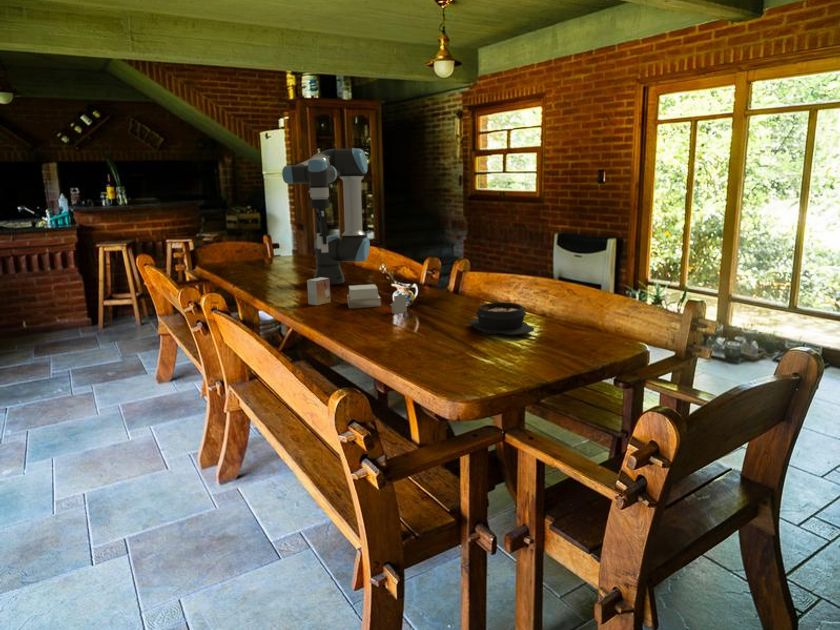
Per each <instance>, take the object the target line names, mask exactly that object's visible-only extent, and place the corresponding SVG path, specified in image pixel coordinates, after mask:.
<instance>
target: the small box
mask: <svg viewBox="0 0 840 630" xmlns="http://www.w3.org/2000/svg"><path fill="white" fill-rule="evenodd" d="M306 284H307V285H306V286H307V300H308V301H307V302H308V305H312V306H319V305H323V304H330V303H331V302H332V301H331V285H330V281H329V278H323V277H319V278H315V279H314V278H310V279H307V280H306Z"/></svg>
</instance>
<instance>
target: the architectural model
mask: <svg viewBox="0 0 840 630" xmlns="http://www.w3.org/2000/svg"><path fill="white" fill-rule="evenodd" d="M409 304H410V303H409V302H407V293H406V294H398V295H393V300H392V302H391V303H390V304H389V306H391V313H392V314H394V315H396V314H401V313H402V314H403V313H406V312H407V311H408V310H407V306H408V305H409Z"/></svg>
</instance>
